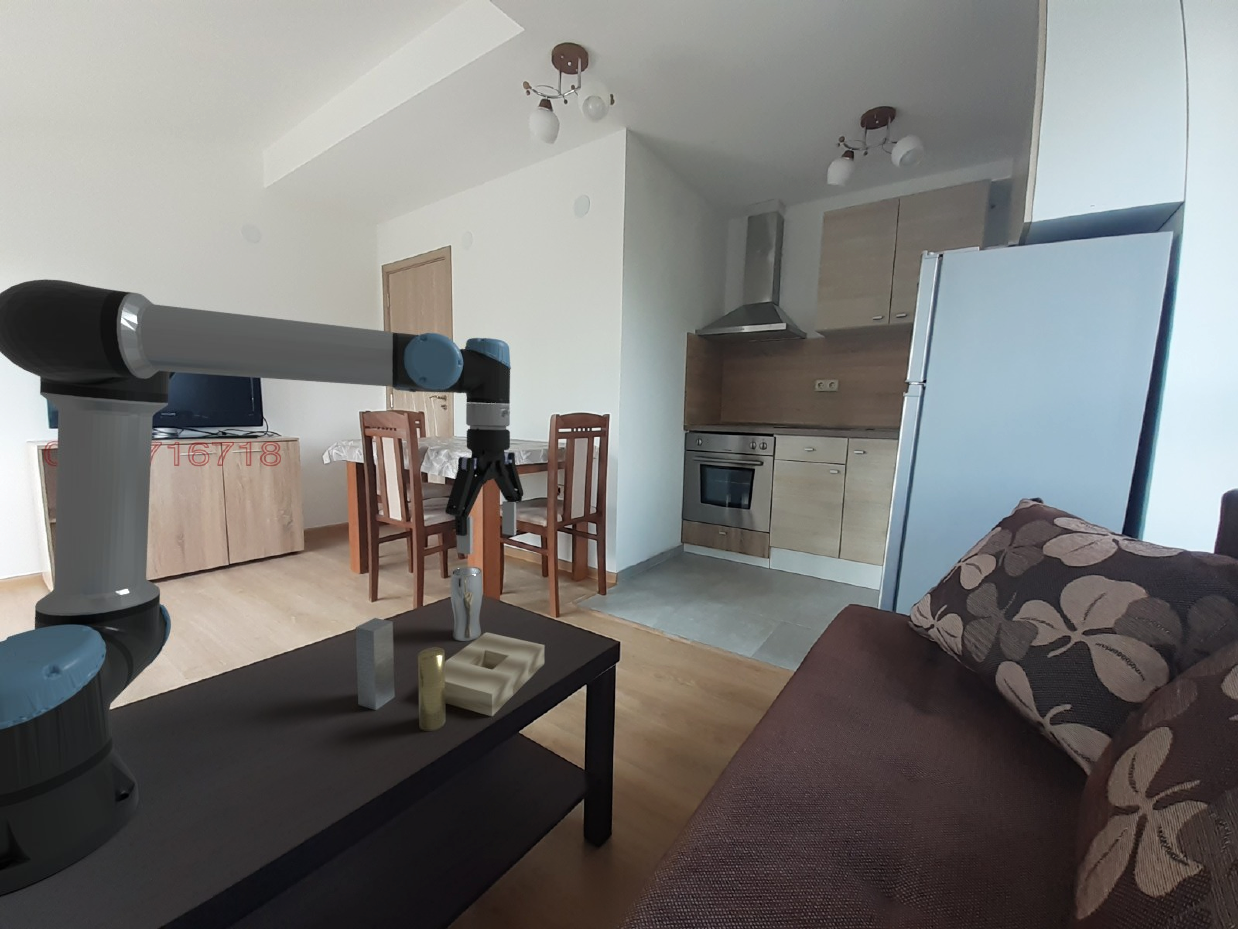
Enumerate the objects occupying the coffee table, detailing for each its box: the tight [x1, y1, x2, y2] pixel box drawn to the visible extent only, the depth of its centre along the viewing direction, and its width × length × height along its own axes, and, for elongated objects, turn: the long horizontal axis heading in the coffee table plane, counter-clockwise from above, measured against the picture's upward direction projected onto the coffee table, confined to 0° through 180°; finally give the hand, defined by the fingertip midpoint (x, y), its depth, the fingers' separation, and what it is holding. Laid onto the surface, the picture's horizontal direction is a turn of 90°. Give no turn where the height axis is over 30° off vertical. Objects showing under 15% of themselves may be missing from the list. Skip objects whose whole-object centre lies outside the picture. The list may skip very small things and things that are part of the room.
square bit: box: [355, 617, 396, 711], centre depth 82 cm, size 4×4×14 cm
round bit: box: [417, 646, 446, 732], centre depth 76 cm, size 4×4×12 cm
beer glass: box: [449, 566, 484, 642], centre depth 106 cm, size 7×7×15 cm
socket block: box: [445, 632, 545, 717], centre depth 90 cm, size 18×14×4 cm
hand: (488, 543), depth 87 cm, fingers open, 13 cm apart
